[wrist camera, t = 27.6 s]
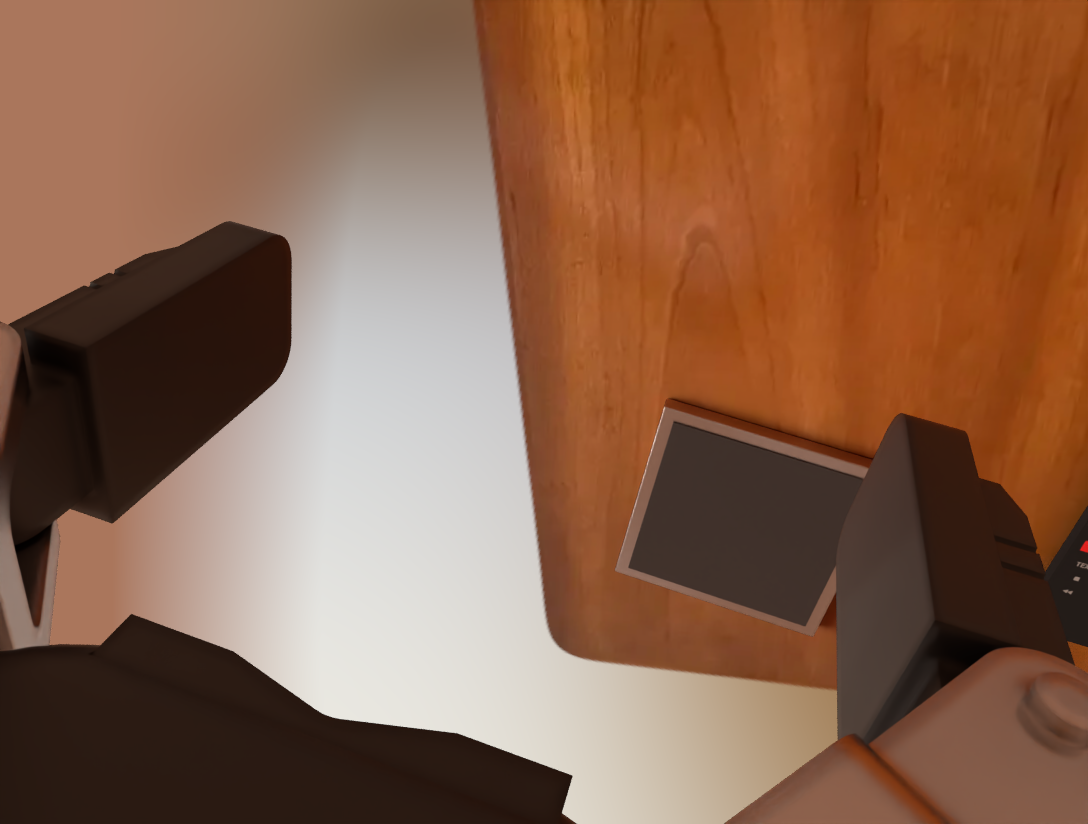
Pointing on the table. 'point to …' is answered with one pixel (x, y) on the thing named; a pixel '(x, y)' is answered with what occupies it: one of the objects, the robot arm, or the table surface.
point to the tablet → (741, 516)
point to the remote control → (1072, 582)
